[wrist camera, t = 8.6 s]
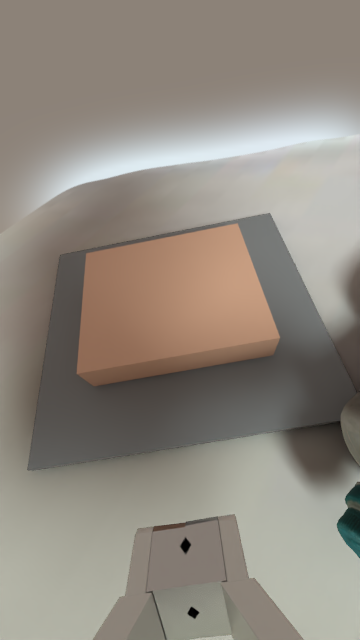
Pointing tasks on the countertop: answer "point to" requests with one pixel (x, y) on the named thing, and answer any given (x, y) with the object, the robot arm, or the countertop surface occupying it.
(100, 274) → the tile
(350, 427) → the detergent
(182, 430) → the mat
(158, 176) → the countertop surface
